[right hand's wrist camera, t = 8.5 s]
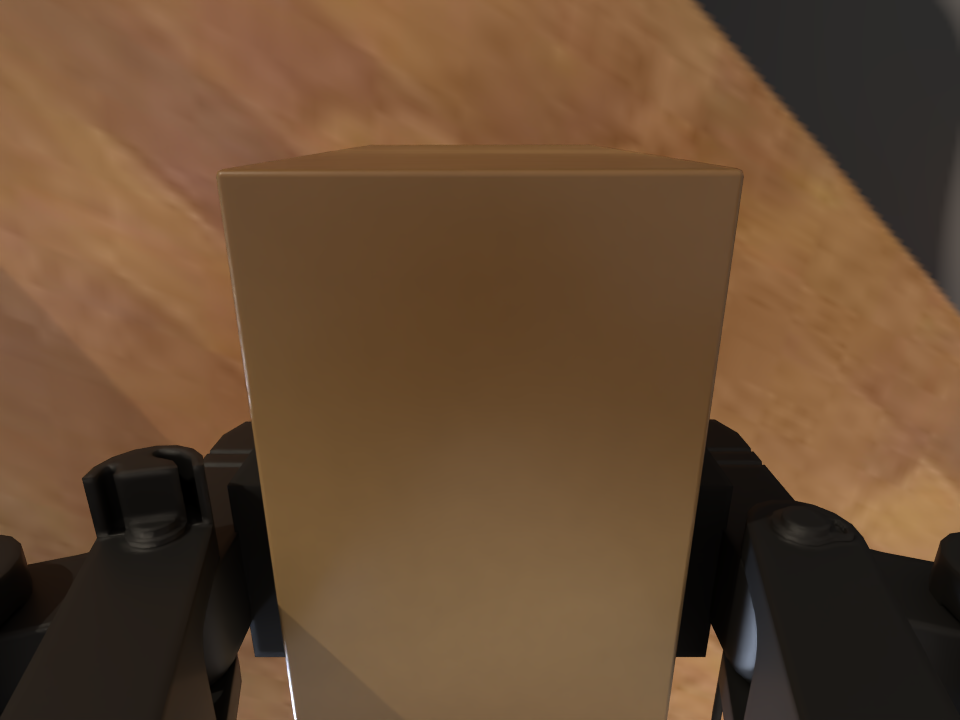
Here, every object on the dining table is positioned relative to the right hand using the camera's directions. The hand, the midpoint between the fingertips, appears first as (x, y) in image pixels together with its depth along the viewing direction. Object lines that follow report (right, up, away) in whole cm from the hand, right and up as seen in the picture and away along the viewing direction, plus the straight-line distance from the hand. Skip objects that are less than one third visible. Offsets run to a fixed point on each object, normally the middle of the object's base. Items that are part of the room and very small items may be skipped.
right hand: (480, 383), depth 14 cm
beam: (0, -29, +12) cm, 31 cm away
